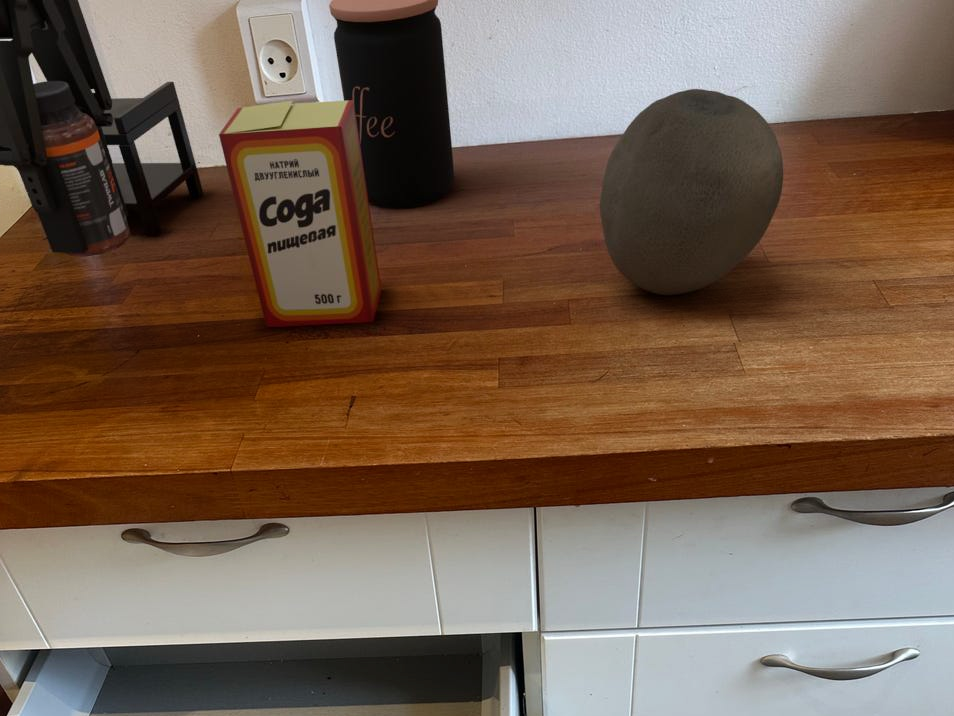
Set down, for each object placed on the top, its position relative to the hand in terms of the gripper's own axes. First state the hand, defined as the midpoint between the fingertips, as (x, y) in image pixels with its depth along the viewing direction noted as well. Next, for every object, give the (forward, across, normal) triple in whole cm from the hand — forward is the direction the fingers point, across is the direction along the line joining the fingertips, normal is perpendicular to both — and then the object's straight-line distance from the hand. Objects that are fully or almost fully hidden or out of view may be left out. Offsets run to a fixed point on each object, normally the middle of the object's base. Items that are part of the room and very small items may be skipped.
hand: (91, 232), depth 76 cm
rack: (+10, +29, +15) cm, 34 cm away
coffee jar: (+10, +36, -15) cm, 40 cm away
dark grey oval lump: (+9, +14, -46) cm, 49 cm away
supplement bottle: (+1, 0, 0) cm, 1 cm away
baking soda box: (+10, +8, -15) cm, 20 cm away
